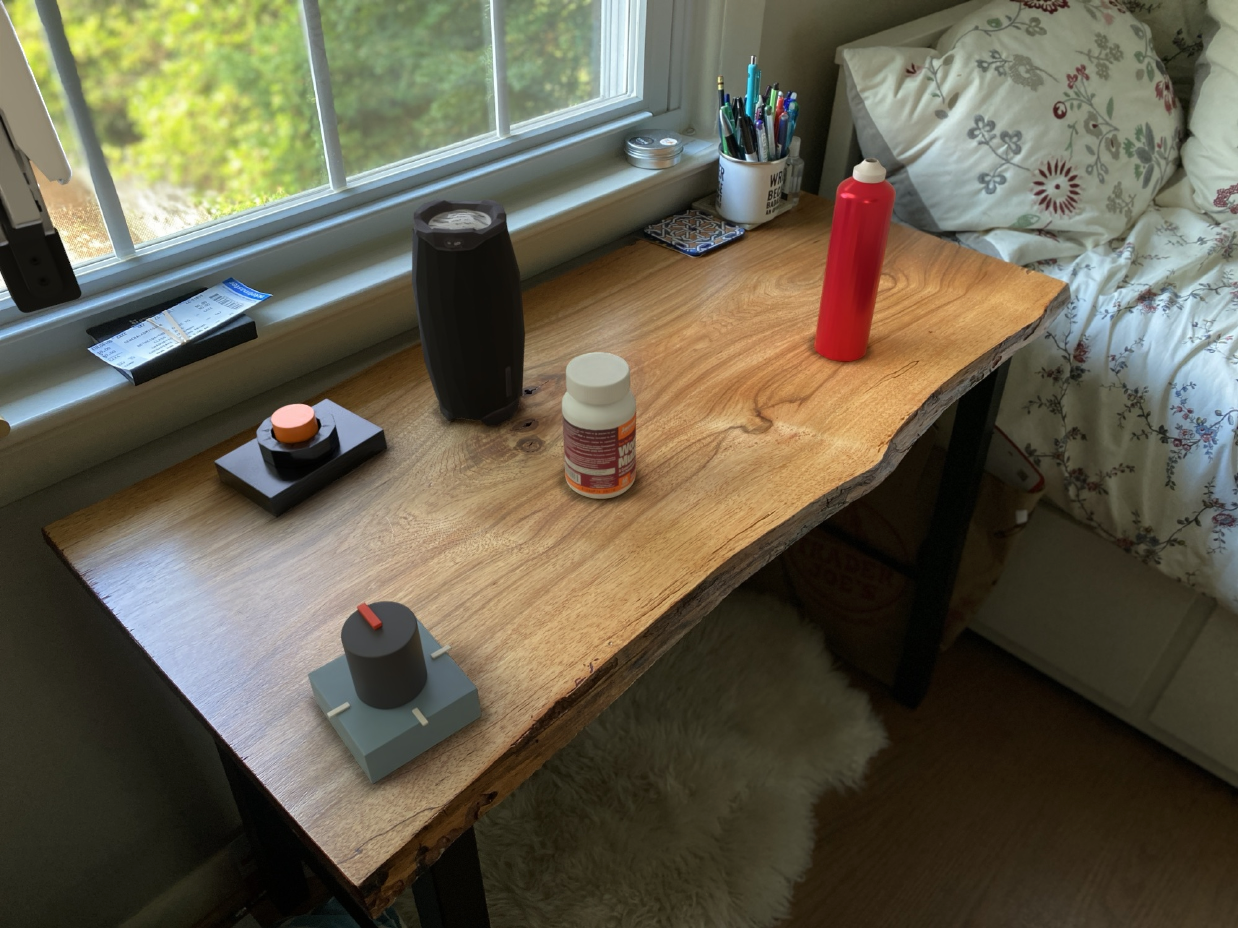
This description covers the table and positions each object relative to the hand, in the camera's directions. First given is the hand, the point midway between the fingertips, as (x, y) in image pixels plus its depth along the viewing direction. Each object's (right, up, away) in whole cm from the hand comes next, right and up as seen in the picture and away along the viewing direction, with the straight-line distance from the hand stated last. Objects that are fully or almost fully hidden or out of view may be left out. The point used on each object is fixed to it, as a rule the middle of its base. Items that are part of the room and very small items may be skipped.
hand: (48, 300), depth 52 cm
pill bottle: (+30, -11, +29) cm, 43 cm away
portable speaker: (+18, -4, +38) cm, 43 cm away
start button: (+4, -6, +29) cm, 30 cm away
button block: (+4, -9, +31) cm, 32 cm away
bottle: (+55, +3, +46) cm, 72 cm away
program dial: (+17, -23, +8) cm, 30 cm away
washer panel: (+17, -26, +10) cm, 32 cm away
